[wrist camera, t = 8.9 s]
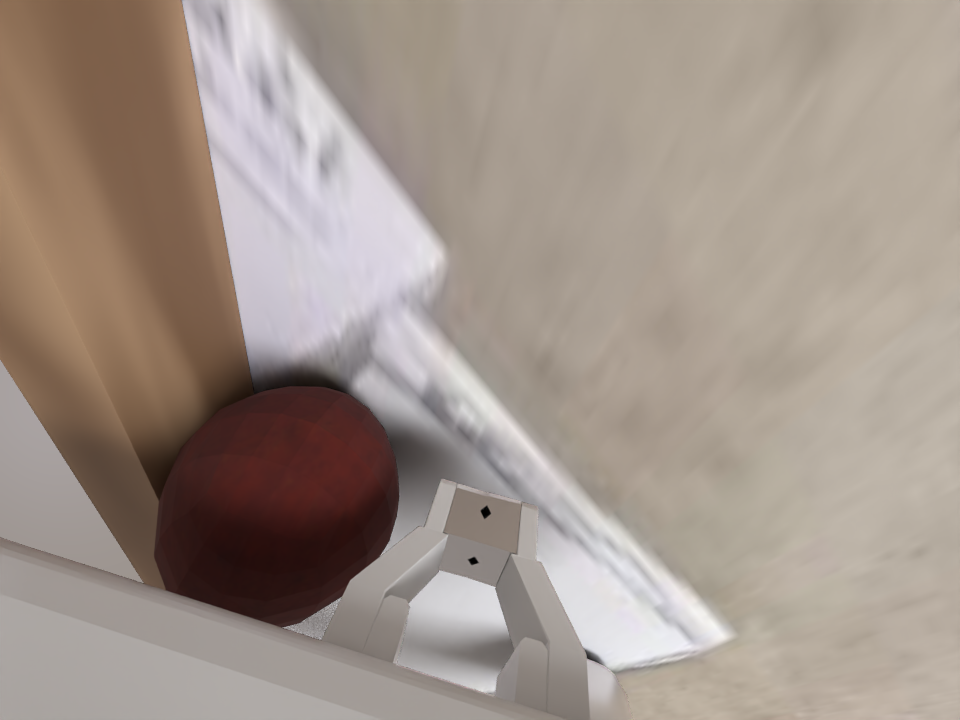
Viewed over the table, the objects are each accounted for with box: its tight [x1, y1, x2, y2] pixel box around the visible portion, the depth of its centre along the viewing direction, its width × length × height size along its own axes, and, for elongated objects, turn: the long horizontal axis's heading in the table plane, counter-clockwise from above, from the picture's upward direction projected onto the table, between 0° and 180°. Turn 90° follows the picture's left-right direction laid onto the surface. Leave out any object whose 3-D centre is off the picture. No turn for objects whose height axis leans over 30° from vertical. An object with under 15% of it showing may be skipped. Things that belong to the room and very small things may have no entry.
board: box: [0, 0, 254, 590], centre depth 12 cm, size 3×24×4 cm, turn 168°
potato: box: [154, 386, 399, 628], centre depth 12 cm, size 7×8×7 cm
